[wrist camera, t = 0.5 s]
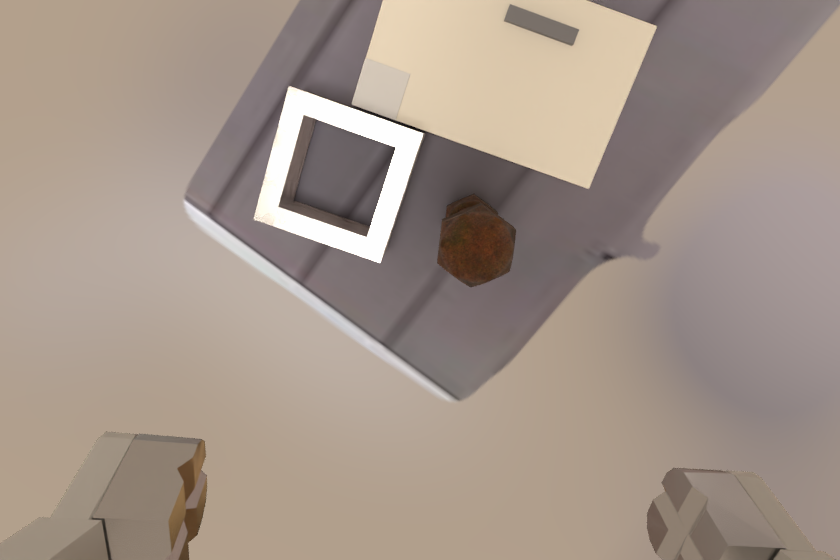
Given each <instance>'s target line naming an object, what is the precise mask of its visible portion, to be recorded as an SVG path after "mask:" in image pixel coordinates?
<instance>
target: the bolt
mask: <svg viewBox="0 0 840 560" xmlns="http://www.w3.org/2000/svg"><path fill="white" fill-rule="evenodd" d="M515 235H516V229H515V228H514V227H513V226H512V225H510V224H509V223H508V222H506V221H505V220H504V219H502V218H501V217H500V216H498V213H497V211H496V210H494V209H493V208H492V207H491V206H489V205H488V204H487V203H485V202H484V201H483V200H481V199H480V198H479V197H477V196H476V195H474V194H473V195H470V196H468V197H465V198H463V199H460V200H458V201H456V202H454V203H452V204H450V205H448V206H447V210H446V218H444V219H442V225H441V234H440V242H439V251H438V259H437V263H438V264H439V265H440V266H441V267H442V268H444V269H445V270H446V271H447V272H449V273H450V274H451V275H453V276H454V277H455V278H457V279H458V280H460V281H461V282H463V283H464V284H466V285H468V286H469V287H474V286H477V285H481V284H484V283H486V282H489V281H491V280H493V279H495V278H498V277H500V276H502V275H504V274H506V273H508V272H509V271H510V268H511V263H512V258H513V251H514V244H515Z"/></svg>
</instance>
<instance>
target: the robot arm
mask: <svg viewBox="0 0 840 560" xmlns="http://www.w3.org/2000/svg"><path fill="white" fill-rule="evenodd" d="M205 458H206V450H205V441H204V440H202V439H195V438H183V437H172V436H159V435H148V434H130V433H129V434H128V433H118V432H107V431H106V432H105V433H104V434H103V435H102V436H100V437H99V438H98V439H97V440H96V442H95V444H94V446H93V447H92V449H91V450H90V452H89V454H88V456H87V457H86V459H85V461H84V462H83V464H82V466H81V467H80V469H79V470H78V472H77V474H76V475H75V477H74V479H73V480H72V482H71V484H70V485H69V487H68V489H67V490H66V492H65V494H64V495H63V497H62V498H61V500H60V502H59V504H58V505H57V507H56V509H55V510H54V512H53V514H52V515H51V517H50V518H44V517H42V518H41V517H39V518H37V519H36V520H35V521H33V522H31V523H30V524H28V525H27V526H25V527H24V528H22V529H21V530H19V531H18V532H16V533H15V534H13V535H12V536H10V537H9V538H7V539H6V540H4V541H3V542H1V543H0V560H189V549H188V548H189V547H188V543H189V541H191V540H192V539H193V538H194V537H195V536H197V534H198V531H199V528H200V525H201V521H202V518H203V513H204V508H205V503H206V494H207V475H206V474H205V473H204V472H203V471H202V470H201V469H202V466H203V463H204V460H205ZM662 484H663V487H664V489H665V492H664V493H662V494H661V495H659V496H658V497H656V498H655V499H653V501H652V503H651V506H650V508H649V510H648V513H647V530H648V534H649V539H650V542H651V544H652V546H653V548H654V551H655V553H656V554H657V555H658V556H659V557H660V558H661V559H662V560H836V559H834V558H833V557H832V556H830V555H829V554H827V553H826V552H821V551H816V550H815V548H814V547H813V546H812V544H811V543H810V542H809V541H808V539H807V538H806V536H805V535H804V534H803V533H802V531H801V530H800V529H799V527H798V526H797V525H796V523H795V522H794V521H793V519H792V518H791V517H790V515H789V514H788V513H787V511H786V510H785V509H784V507H783V506H782V505H781V503H780V502H779V501H778V500H777V498H776V497H775V495H774V494H773V493H772V492H771V490H770V489H769V488H768V486H767V485H766V484H765V482H764V481H763V479H762V478H761V477H759V476H758V475H756V474H755V473H753V472H744V471H721V470H705V469H686V468H673V469H672V470H670V471H668V472H667V473H666V475H665V477H664V479H663V481H662Z"/></svg>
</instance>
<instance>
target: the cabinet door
mask: <svg viewBox="0 0 840 560" xmlns="http://www.w3.org/2000/svg"><path fill="white" fill-rule="evenodd" d="M656 28H657V26H655V25H652V24H649V23H647V22H644V21H641V20H638V19H636V18H633V17H630V16H628V15H625V14H622V13H620V12H617V11H614V10H611V9H609V8H606V7H603V6H601V5H598V4H595V3H593V2H590V1H587V0H383V2H382V5H381V9H380V12H379V16H378V19H377V22H376V26H375V29H374V32H373V36H372V39H371V42H370V46H369V49H368V53H367V56H366V58H365V61H364V64H363V67H362V71H361V74H360V77H359V81H358V84H357V88H356V91H355V94H354V98H353V101H352V104H351V105H354V106H357V107H360V108H362V109H365V110H368V111H371V112H374V113H376V114H379V115H382V116H385V117H388V118H390V119H393V120H396V121H399V122H402V123H405V124H407V125H410V126H413V127H416V128H419V129H421V130H424V131H427V132H430V133H433V134H435V135H438V136H441V137H444V138H447V139H450V140H452V141H455V142H458V143H461V144H464V145H466V146H469V147H472V148H475V149H478V150H480V151H483V152H486V153H489V154H492V155H494V156H497V157H500V158H503V159H506V160H509V161H511V162H514V163H517V164H520V165H523V166H525V167H528V168H531V169H534V170H537V171H539V172H542V173H545V174H548V175H551V176H553V177H556V178H559V179H562V180H565V181H568V182H570V183H573V184H576V185H579V186H582V187H584V188H587V189H589V187H590V185H591V182H592V180H593V178H594V175H595V173H596V170H597V168H598V166H599V163H600V161H601V159H602V156H603V154H604V151H605V149H606V147H607V144H608V142H609V140H610V137H611V135H612V132H613V130H614V128H615V125H616V123H617V120H618V118H619V116H620V113H621V111H622V109H623V106H624V104H625V101H626V99H627V97H628V94H629V92H630V90H631V87H632V85H633V82H634V80H635V78H636V75H637V73H638V71H639V68H640V66H641V63H642V61H643V59H644V56H645V54H646V52H647V49H648V47H649V44H650V42H651V40H652V37H653V35H654V33H655V30H656Z"/></svg>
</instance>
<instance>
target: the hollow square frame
mask: <svg viewBox="0 0 840 560" xmlns="http://www.w3.org/2000/svg"><path fill="white" fill-rule="evenodd" d="M316 119H317V120H320V121H323V122H326V123H329V124H331V125H334V126H337V127H340V128H343V129H346V130H348V131H351V132H354V133H357V134H360V135H362V136H365V137H368V138H371V139H374V140H377V141H379V142H382V143H385V144H388V145H391V146H394V147H396V149H395V152H394V155H393V159H392V162H391V165H390V168H389V171H388V174H387V177H386V180H385V183H384V186H383V189H382V193H381V196H380V199H379V202H378V205H377V208H376V211H375V214H374V217H373V220H372V223H371V227H369V226H366V225H364V224H361V223H358V222H355V221H352V220H349V219H346V218H343V217H341V216H338V215H335V214H332V213H329V212H326V211H323V210H320V209H318V208H315V207H312V206H309V205H306V204H303V203H300V202H297V201H295V200H294V197H295V193H296V190H297V186H298V183H299V179H300V176H301V172H302V169H303V165H304V162H305V158H306V154H307V151H308V147H309V144H310V140H311V137H312V133H313V130H314V126H315V123H316ZM424 136H425V133H422V132H419V131H416V130H413V129H411V128H408V127H405V126H402V125H399V124H397V123H394V122H391V121H388V120H385V119H383V118H380V117H377V116H374V115H371V114H368V113H366V112H363V111H360V110H357V109H354V108H352V107H349V106H346V105H343V104H340V103H338V102H335V101H332V100H329V99H326V98H323V97H321V96H318V95H315V94H312V93H309V92H307V91H304V90H300V89H297V88H294V87H290V86H289V88H288V92H287V95H286V99H285V103H284V107H283V110H282V114H281V118H280V122H279V125H278V129H277V133H276V137H275V140H274V144H273V148H272V152H271V155H270V159H269V163H268V167H267V170H266V174H265V178H264V182H263V185H262V189H261V193H260V197H259V200H258V204H257V208H256V212H255V216H254V220H257V221H260V222H263V223H266V224H268V225H271V226H274V227H277V228H280V229H283V230H286V231H289V232H292V233H294V234H297V235H300V236H303V237H306V238H309V239H312V240H315V241H318V242H321V243H323V244H326V245H329V246H332V247H335V248H338V249H341V250H344V251H347V252H350V253H352V254H355V255H358V256H361V257H364V258H367V259H370V260H373V261H376V262H379V263H380V262H381V260H382V258H383V256H384V254H385V252H386V250H387V247H388V244H389V241H390V238H391V235H392V232H393V229H394V226H395V223H396V220H397V217H398V214H399V211H400V208H401V205H402V202H403V199H404V196H405V193H406V190H407V187H408V184H409V181H410V178H411V175H412V172H413V169H414V166H415V163H416V160H417V157H418V154H419V151H420V148H421V145H422V142H423V139H424Z"/></svg>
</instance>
